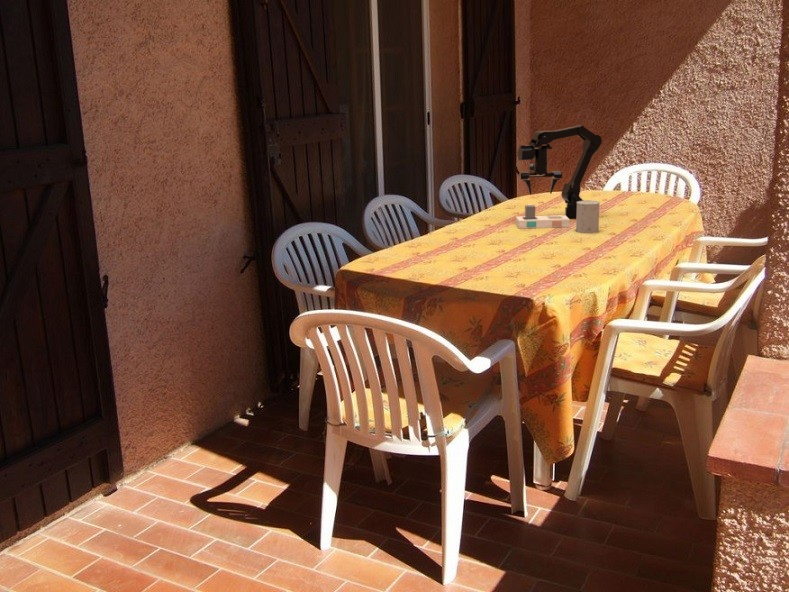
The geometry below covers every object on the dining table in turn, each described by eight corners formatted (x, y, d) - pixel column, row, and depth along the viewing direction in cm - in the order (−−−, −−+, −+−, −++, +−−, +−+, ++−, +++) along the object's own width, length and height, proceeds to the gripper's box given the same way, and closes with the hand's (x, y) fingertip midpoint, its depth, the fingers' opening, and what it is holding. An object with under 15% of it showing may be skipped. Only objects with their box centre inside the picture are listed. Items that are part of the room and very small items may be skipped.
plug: (533, 225, 390) (534, 203, 388) (535, 226, 387) (535, 205, 384) (524, 225, 391) (525, 203, 388) (525, 227, 387) (526, 205, 384)
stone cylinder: (573, 232, 373) (573, 203, 370) (579, 228, 381) (580, 200, 378) (595, 233, 368) (596, 204, 365) (601, 229, 377) (602, 201, 373)
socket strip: (565, 222, 393) (565, 215, 392) (569, 227, 383) (569, 219, 382) (515, 224, 393) (516, 216, 393) (518, 228, 383) (519, 220, 382)
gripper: (558, 156, 401) (558, 190, 405) (517, 158, 402) (517, 192, 406) (563, 159, 391) (562, 194, 395) (521, 160, 391) (520, 195, 395)
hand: (540, 194), depth 398 cm, fingers open, 9 cm apart
